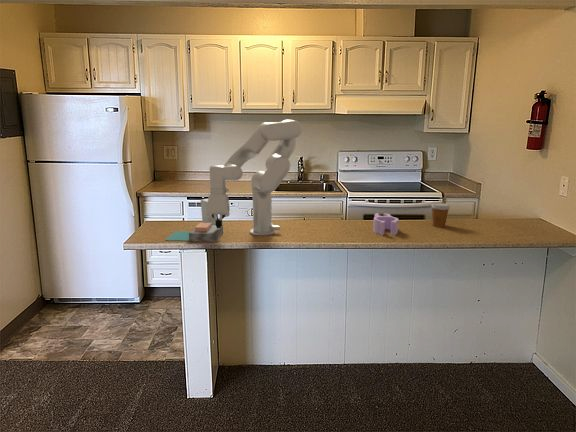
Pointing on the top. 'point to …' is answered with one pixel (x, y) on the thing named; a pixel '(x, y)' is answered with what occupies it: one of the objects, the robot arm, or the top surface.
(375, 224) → the clip
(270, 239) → the top surface
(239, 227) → the top surface
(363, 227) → the top surface
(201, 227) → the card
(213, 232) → the grey flat block
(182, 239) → the mat
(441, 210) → the disposable coffee cup
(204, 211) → the skincare box
